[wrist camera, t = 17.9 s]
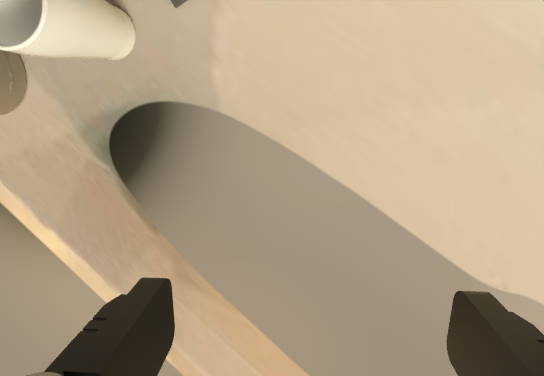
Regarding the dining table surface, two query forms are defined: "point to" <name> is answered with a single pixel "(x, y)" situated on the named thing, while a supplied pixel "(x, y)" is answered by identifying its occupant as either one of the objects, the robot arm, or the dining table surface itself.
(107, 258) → the dining table surface
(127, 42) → the drinking glass
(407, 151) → the dining table surface
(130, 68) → the dining table surface
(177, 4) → the mat
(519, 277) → the dining table surface
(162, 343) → the robot arm
